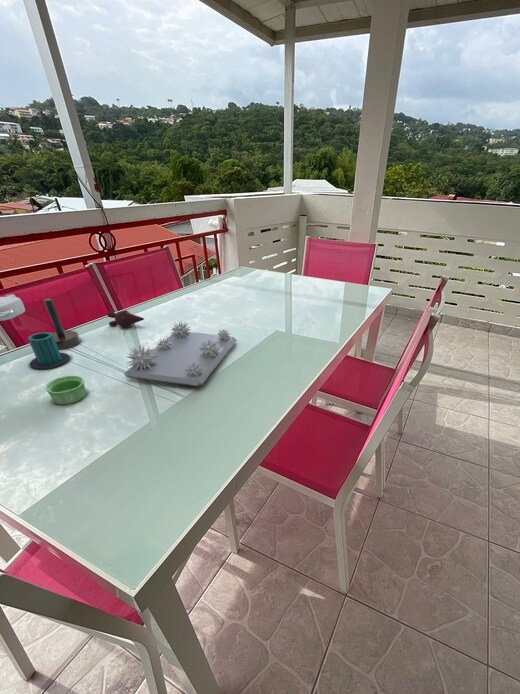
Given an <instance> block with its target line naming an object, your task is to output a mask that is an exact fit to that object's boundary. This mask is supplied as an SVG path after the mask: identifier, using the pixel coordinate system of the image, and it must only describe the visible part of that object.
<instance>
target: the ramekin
mask: <svg viewBox="0 0 520 694" xmlns="http://www.w3.org/2000/svg"><path fill="white" fill-rule="evenodd" d="M45 391H46V392H47V393H48V395H49V397H50V398H51V400H52V401H53V402H54V403H55V404H57V405H69V404H70V405H71V404H74V403H77V402H79V401H81V400H82V399H83V398H85V396H87V390H86V386H85V380H84V378H83V377H81V376H79V375H64V376H60V377H56V378H54V379H53V380H50V381H49V382H48V383H47V384H46V385H45Z"/></svg>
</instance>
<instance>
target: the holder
mask: <svg viewBox="0 0 520 694" xmlns="http://www.w3.org/2000/svg"><path fill="white" fill-rule="evenodd" d="M43 303H44V305H45V308H46V311H47V314H48V315H49V318H50V321H51V324H52V327H53V328H54V332H51V333H52V334H53V337H54V339H55V342H56V344H57V347H58V349H59V350H67V349H71V348H73V347H76V346H78V345H79V344H80V343H81V337H80V336H79V334H78V332H77V331H76V330H70V329H69V330H67V329H66V330H64V328H63V325H62V322H61V320H60V319H61V318H60V317H59V314H58V311H57V308H56V306H55V304H54V300H53V299H52V298H45V299H43Z"/></svg>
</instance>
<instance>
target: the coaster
mask: <svg viewBox="0 0 520 694" xmlns="http://www.w3.org/2000/svg"><path fill="white" fill-rule="evenodd" d="M60 354H61V357H62V360H61V361H59V362H57V363H54V364H50V365H49V364H48V365H41V364H39V363H38V360H37V358H36V357H35V358H33V359H31V360H30V362H29V366H30V368H32V369H33V370H37V371H48V370H53V369H57V368H60V367H63V366H64V365H66V364H68V363H69V362H70V361H71V356H70V355H69V354H68V353H66V352H60Z"/></svg>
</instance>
